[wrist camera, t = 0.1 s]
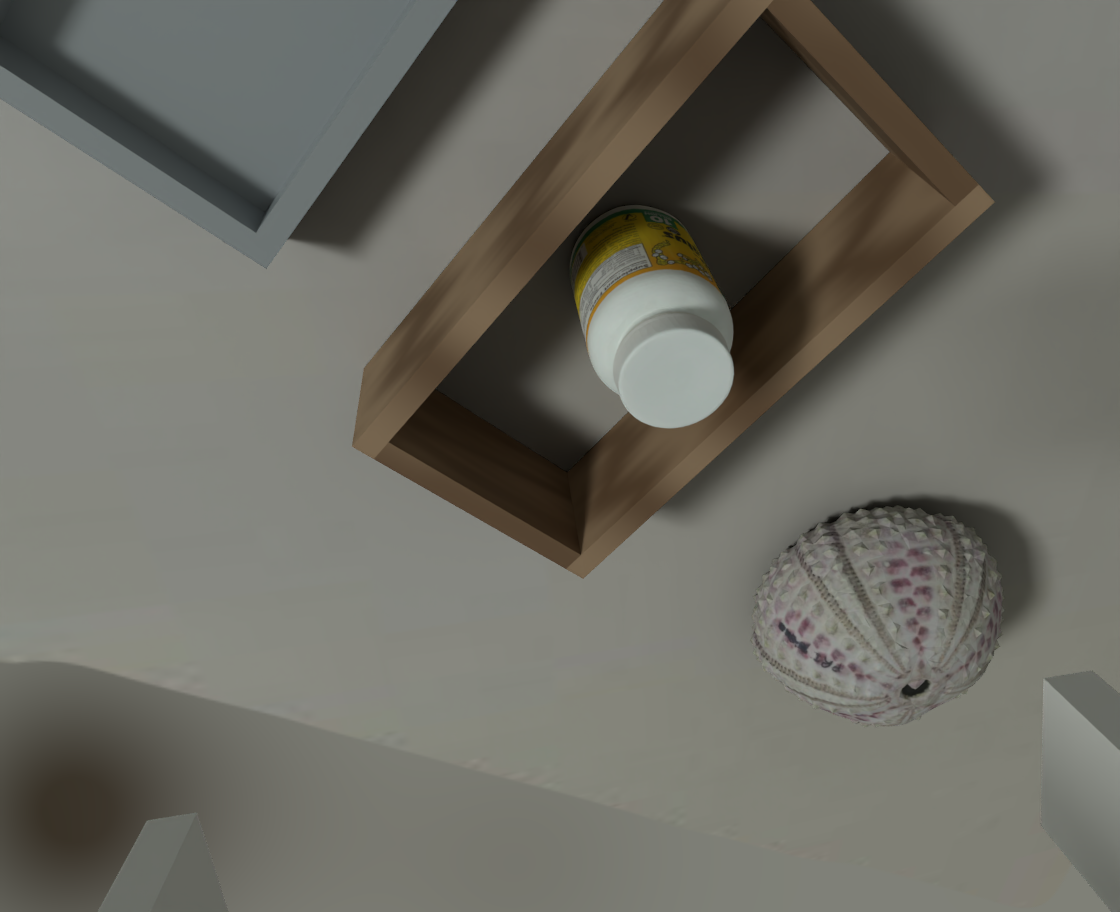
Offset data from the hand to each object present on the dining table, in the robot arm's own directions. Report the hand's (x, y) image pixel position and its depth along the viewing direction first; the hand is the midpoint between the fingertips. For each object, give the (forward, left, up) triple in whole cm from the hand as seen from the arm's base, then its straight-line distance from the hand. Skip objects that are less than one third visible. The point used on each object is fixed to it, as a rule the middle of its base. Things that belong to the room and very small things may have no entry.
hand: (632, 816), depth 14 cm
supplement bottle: (0, +6, -28) cm, 29 cm away
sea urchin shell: (+6, +29, -28) cm, 40 cm away
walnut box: (0, +6, -28) cm, 28 cm away
